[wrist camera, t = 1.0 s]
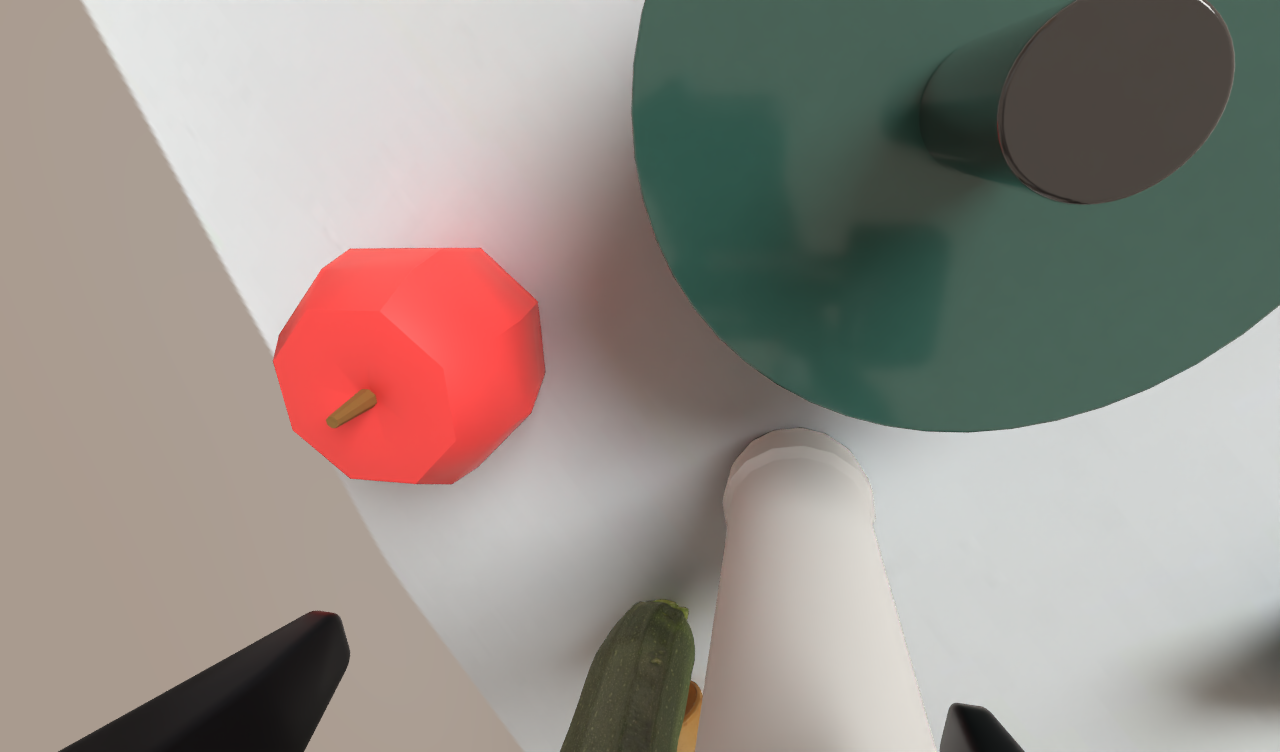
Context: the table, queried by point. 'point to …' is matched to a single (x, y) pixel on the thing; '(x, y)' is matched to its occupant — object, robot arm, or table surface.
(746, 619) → the bottle
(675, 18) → the lid
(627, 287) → the table surface
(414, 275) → the apple
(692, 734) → the kendama
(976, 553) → the table surface
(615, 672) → the vegetable
